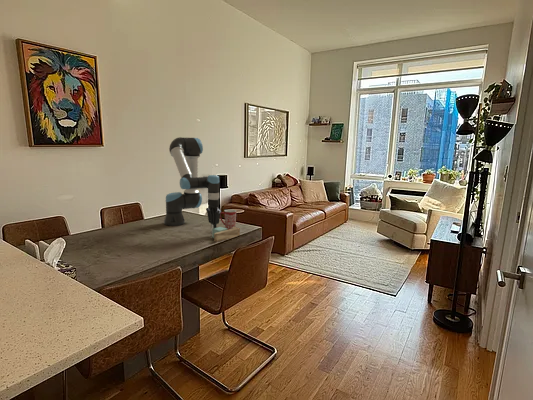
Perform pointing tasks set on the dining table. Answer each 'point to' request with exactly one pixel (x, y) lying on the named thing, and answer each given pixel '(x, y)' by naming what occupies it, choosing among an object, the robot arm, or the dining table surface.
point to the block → (217, 230)
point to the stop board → (227, 234)
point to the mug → (229, 218)
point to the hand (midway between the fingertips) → (213, 233)
